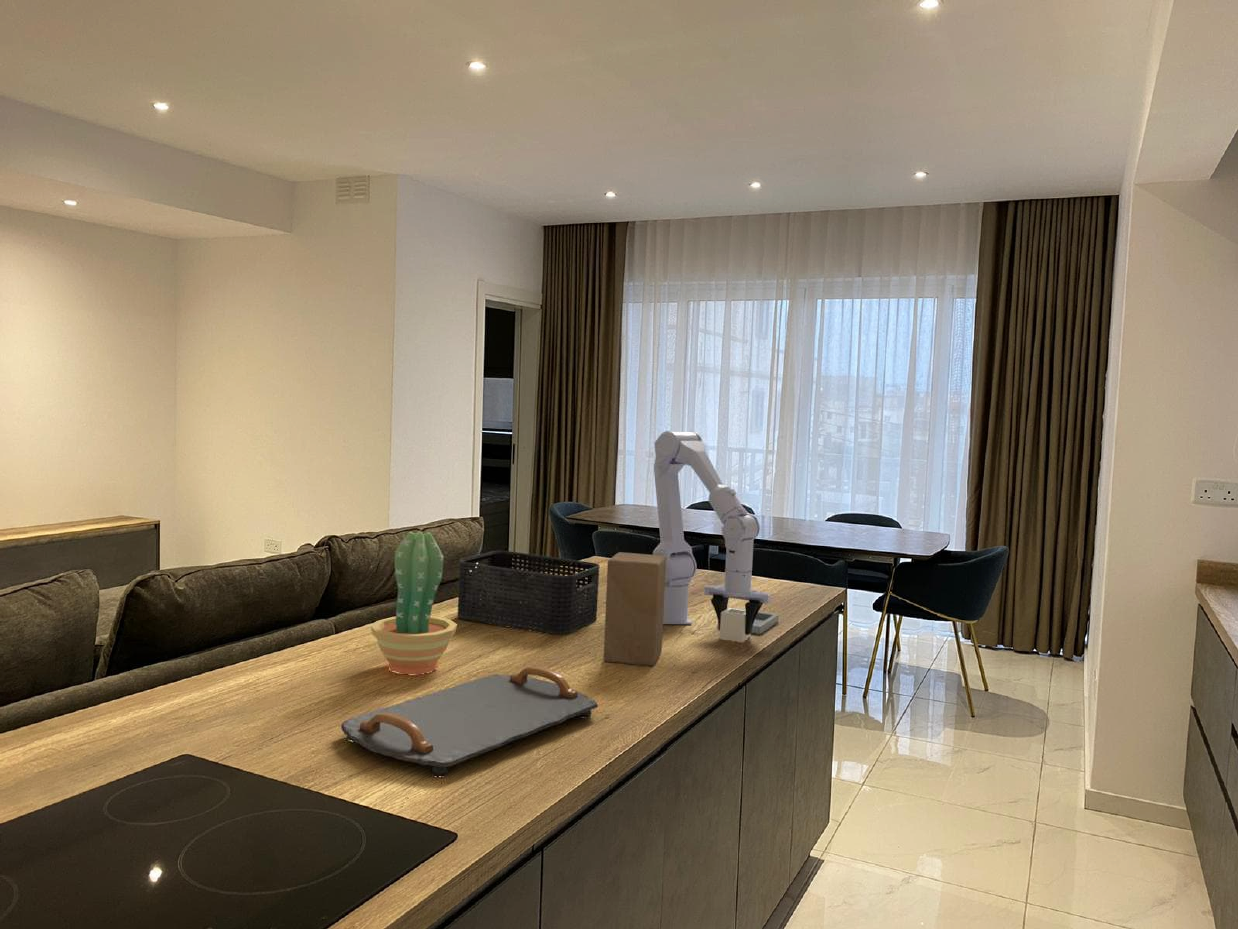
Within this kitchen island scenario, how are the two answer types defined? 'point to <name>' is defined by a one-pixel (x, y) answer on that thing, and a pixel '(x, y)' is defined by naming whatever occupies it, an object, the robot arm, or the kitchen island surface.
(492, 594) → the storage bin
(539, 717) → the serving board
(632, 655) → the wooden block
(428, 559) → the potted cactus
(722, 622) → the cream block
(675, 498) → the robot arm
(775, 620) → the tray
